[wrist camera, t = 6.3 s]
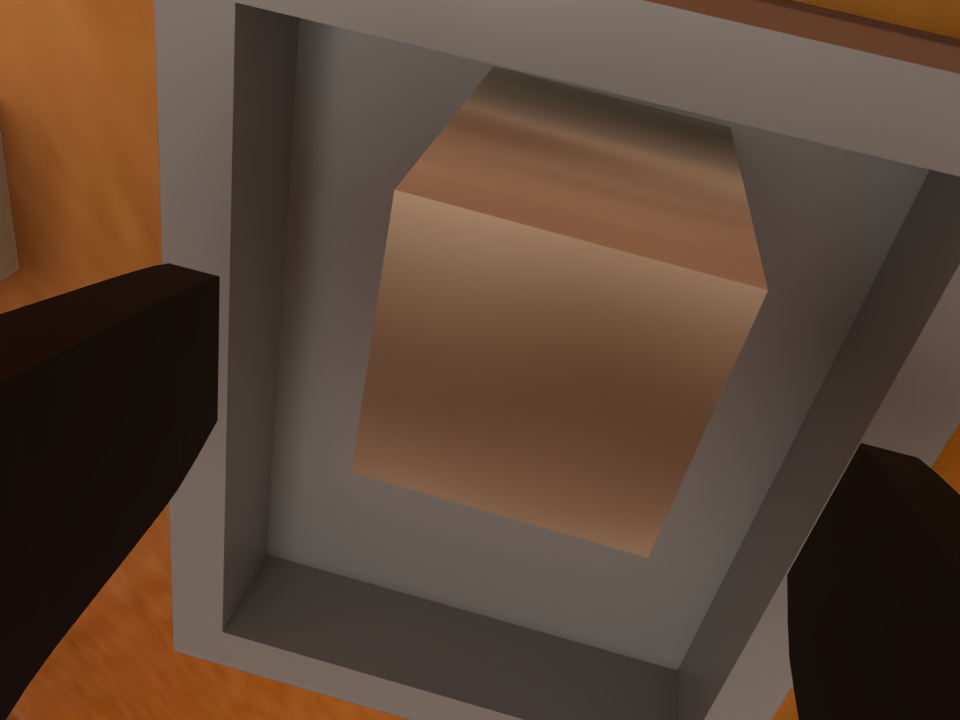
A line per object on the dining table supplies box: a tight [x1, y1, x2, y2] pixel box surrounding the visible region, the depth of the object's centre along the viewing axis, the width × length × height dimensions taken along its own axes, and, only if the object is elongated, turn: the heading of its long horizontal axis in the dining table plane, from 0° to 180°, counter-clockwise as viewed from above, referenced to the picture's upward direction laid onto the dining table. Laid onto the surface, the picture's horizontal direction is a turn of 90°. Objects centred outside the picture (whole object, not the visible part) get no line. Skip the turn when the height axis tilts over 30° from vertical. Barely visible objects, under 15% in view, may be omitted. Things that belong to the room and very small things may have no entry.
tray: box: [154, 0, 960, 720], centre depth 16 cm, size 16×13×4 cm
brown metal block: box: [351, 66, 768, 558], centre depth 12 cm, size 4×4×6 cm
